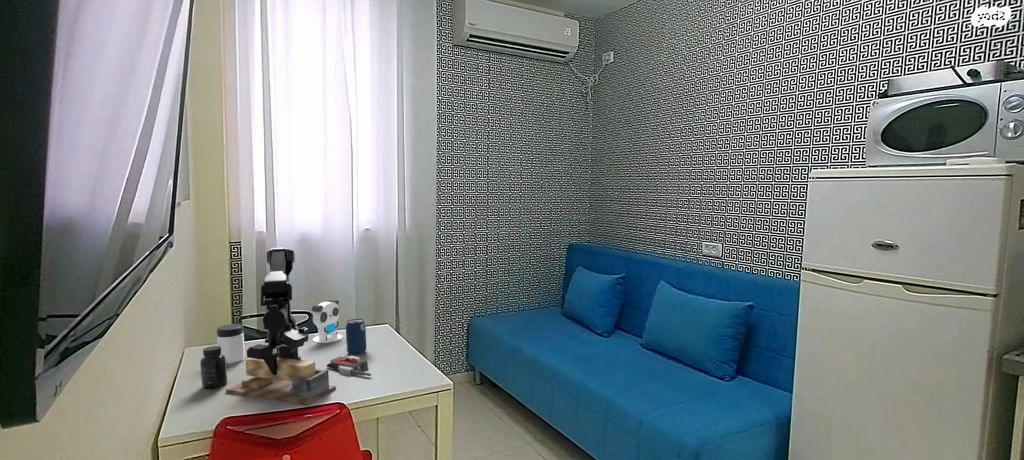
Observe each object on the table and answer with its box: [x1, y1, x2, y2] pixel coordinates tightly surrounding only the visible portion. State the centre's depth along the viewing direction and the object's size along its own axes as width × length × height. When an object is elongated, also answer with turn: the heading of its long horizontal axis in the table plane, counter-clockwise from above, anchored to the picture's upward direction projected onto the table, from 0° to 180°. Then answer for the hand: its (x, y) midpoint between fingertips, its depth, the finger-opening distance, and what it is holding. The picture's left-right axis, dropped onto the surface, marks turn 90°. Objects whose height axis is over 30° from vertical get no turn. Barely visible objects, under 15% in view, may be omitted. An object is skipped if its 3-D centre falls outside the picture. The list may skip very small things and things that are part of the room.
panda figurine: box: [311, 299, 343, 344], centre depth 206 cm, size 12×11×15 cm
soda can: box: [345, 318, 367, 356], centre depth 188 cm, size 7×7×12 cm
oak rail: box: [244, 357, 316, 381], centre depth 154 cm, size 22×4×5 cm, turn 72°
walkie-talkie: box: [326, 355, 372, 377], centre depth 171 cm, size 9×4×20 cm
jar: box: [216, 323, 246, 365], centre depth 182 cm, size 9×8×12 cm
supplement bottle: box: [199, 345, 228, 390], centre depth 158 cm, size 7×7×12 cm
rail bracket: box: [225, 368, 337, 406], centre depth 154 cm, size 30×12×6 cm, turn 71°
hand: (280, 372), depth 154 cm, fingers closed on oak rail, 4 cm apart
